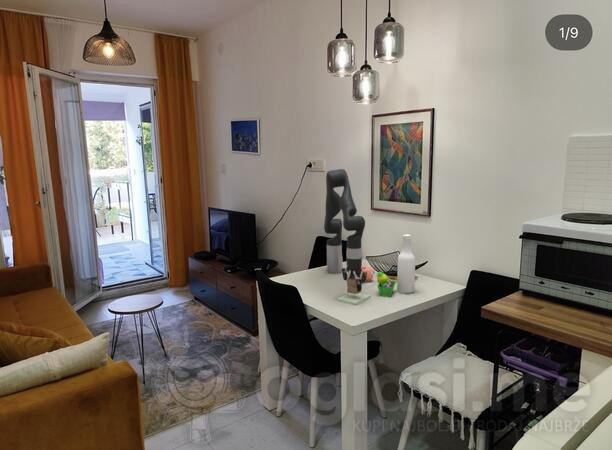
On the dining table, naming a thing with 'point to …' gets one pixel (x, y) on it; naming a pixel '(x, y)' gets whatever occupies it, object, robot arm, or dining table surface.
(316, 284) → the dining table surface
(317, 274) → the dining table surface
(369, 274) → the teapot
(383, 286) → the fruit basket
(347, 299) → the sage board
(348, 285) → the walnut block
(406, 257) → the alcohol
